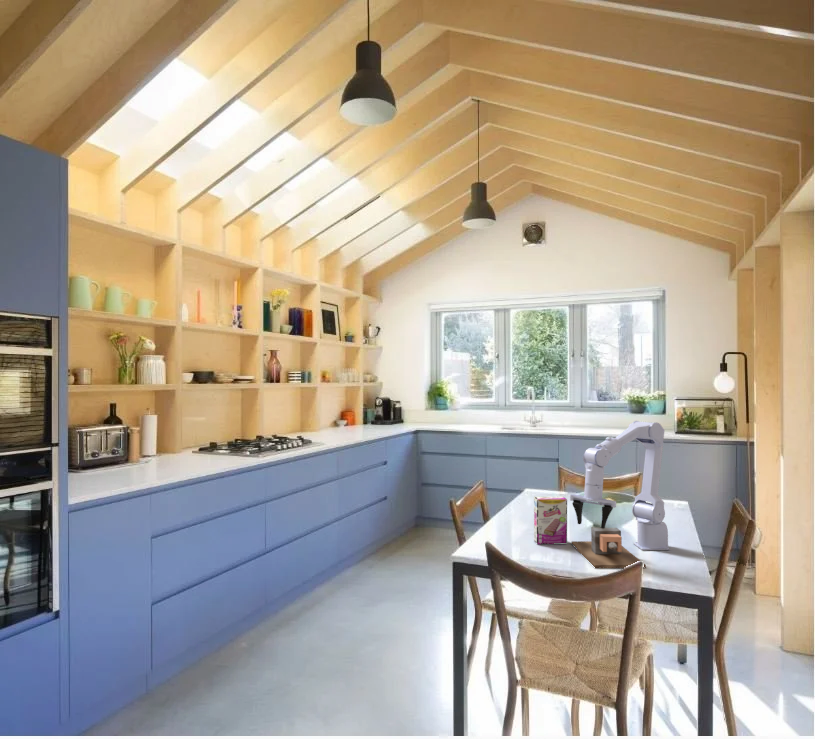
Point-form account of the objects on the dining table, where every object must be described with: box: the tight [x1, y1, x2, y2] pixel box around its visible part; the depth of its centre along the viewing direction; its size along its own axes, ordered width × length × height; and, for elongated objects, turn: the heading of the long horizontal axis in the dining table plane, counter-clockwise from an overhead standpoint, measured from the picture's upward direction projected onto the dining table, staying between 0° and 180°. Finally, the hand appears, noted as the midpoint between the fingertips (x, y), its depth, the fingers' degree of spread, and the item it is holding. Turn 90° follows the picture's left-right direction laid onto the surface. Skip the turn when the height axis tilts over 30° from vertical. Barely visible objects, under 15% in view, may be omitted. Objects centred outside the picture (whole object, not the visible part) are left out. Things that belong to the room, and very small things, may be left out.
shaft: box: [590, 526, 617, 550], centre depth 195 cm, size 4×17×4 cm, turn 0°
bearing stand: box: [571, 527, 647, 569], centre depth 193 cm, size 16×26×9 cm, turn 0°
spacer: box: [600, 534, 623, 552], centre depth 189 cm, size 6×4×5 cm, turn 90°
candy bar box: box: [533, 496, 568, 545], centre depth 208 cm, size 11×5×16 cm, turn 92°
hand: (591, 525), depth 190 cm, fingers open, 7 cm apart
